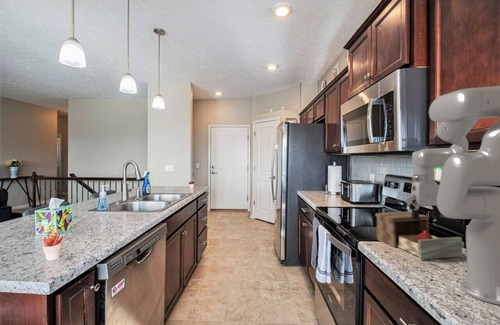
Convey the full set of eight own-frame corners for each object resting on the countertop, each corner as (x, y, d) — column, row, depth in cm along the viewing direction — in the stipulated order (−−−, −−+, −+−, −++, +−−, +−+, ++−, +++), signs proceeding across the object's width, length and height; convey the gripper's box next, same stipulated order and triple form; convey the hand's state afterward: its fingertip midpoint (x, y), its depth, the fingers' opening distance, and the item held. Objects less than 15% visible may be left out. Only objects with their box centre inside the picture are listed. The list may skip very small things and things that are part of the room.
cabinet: (429, 245, 112) (428, 216, 112) (393, 247, 110) (392, 218, 110) (409, 237, 125) (408, 211, 125) (376, 239, 122) (375, 213, 122)
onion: (419, 245, 107) (418, 228, 107) (435, 248, 103) (434, 230, 103) (415, 249, 103) (415, 230, 104) (432, 252, 99) (431, 233, 99)
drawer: (462, 256, 97) (461, 237, 97) (421, 259, 95) (420, 240, 95) (431, 244, 112) (430, 228, 112) (394, 247, 109) (394, 230, 109)
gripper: (412, 179, 99) (414, 221, 98) (449, 178, 101) (452, 219, 100) (399, 179, 106) (401, 218, 105) (433, 178, 108) (436, 216, 108)
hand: (425, 218), depth 103 cm, fingers open, 9 cm apart
